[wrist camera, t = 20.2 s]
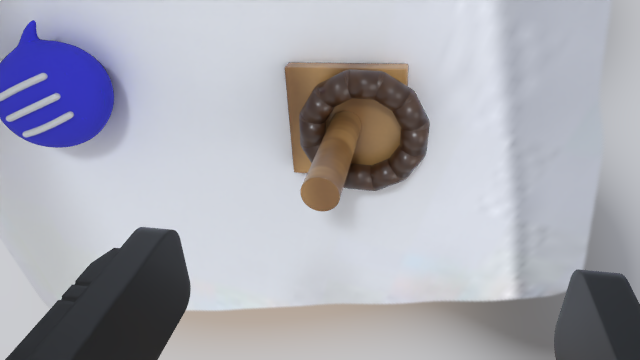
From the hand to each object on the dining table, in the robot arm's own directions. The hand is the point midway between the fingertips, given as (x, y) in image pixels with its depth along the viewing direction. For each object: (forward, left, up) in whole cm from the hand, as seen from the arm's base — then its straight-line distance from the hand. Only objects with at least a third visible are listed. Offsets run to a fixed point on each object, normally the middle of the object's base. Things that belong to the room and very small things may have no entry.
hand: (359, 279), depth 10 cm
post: (-5, -9, -27) cm, 29 cm away
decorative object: (-29, -6, -28) cm, 40 cm away
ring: (-3, -9, -25) cm, 27 cm away
